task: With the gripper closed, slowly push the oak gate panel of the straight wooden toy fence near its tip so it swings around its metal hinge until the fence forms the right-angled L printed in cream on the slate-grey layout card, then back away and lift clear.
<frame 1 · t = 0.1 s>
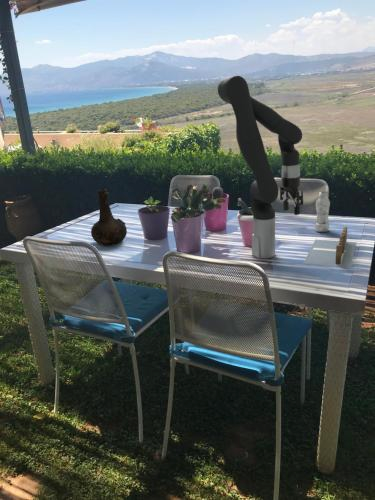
hand: (291, 212, 180), 17 cm above the table, tool pointing down, fingers open, 8 cm apart
plastic bottle: (321, 232, 206), on the table
layout card: (331, 253, 178), on the table
fence fixed: (341, 251, 178), resting on layout card
fence gate: (343, 238, 182), point 4 cm above the table, hinge at 0.0°
brown long-necked vase: (110, 243, 213), on the table
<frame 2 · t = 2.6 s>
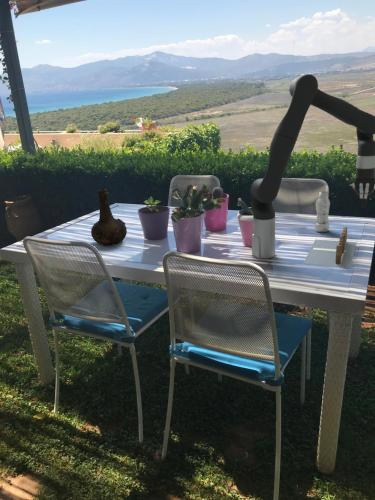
hand: (362, 206, 179), 18 cm above the table, tool pointing down, fingers closed
nothing on the table moved.
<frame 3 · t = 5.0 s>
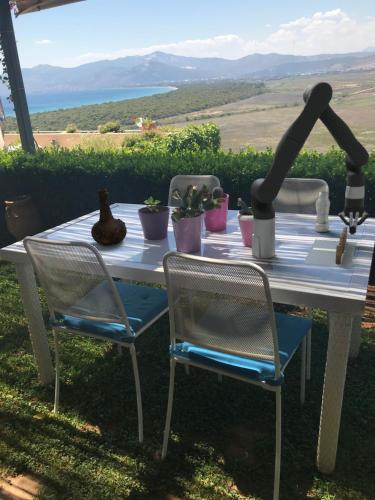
hand: (352, 234, 184), 5 cm above the table, tool pointing down, fingers closed
fence gate: (343, 238, 182), point 4 cm above the table, hinge at 0.0°, touching gripper
everything else where it was.
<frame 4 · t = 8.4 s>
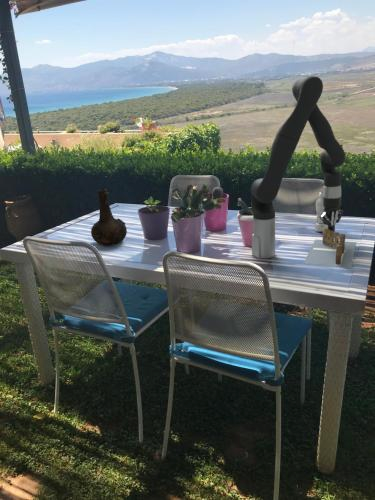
hand: (331, 232, 187), 5 cm above the table, tool pointing down, fingers closed
fence gate: (333, 239, 182), point 4 cm above the table, hinge at 47.7°, touching gripper
everything else where it was.
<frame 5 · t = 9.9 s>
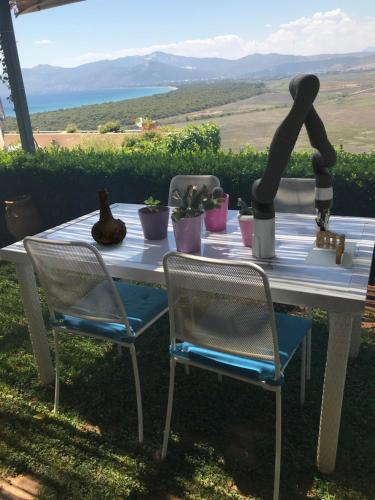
hand: (322, 234, 186), 5 cm above the table, tool pointing down, fingers closed
fence gate: (330, 240, 181), point 4 cm above the table, hinge at 71.3°, touching gripper
everything else where it was.
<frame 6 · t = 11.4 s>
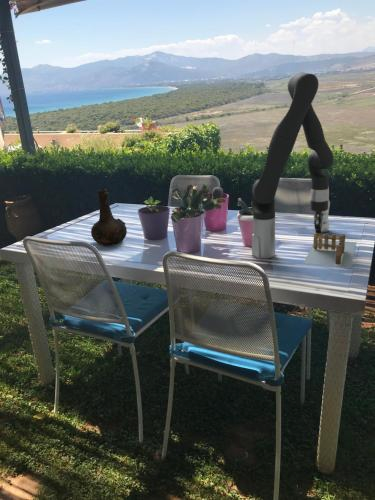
hand: (318, 237, 183), 5 cm above the table, tool pointing down, fingers closed
fence gate: (328, 241, 179), point 4 cm above the table, hinge at 91.7°
everything else where it was.
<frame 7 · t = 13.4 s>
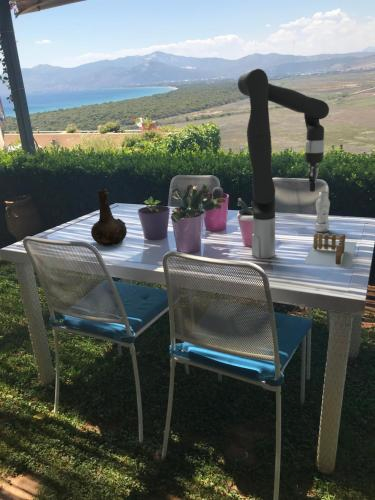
hand: (312, 191, 182), 25 cm above the table, tool pointing down, fingers closed
nothing on the table moved.
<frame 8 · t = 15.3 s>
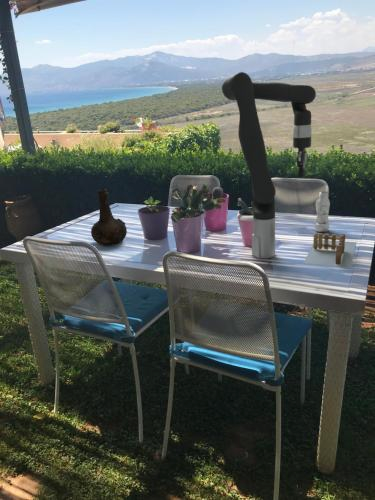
hand: (301, 176, 183), 31 cm above the table, tool pointing down, fingers closed
nothing on the table moved.
at the end: fence gate at +92° (first picture: +0°) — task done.
